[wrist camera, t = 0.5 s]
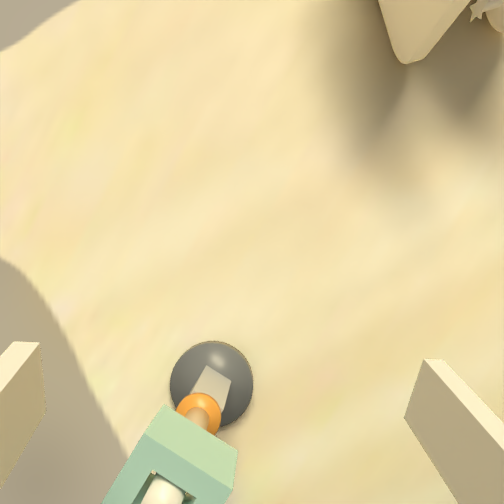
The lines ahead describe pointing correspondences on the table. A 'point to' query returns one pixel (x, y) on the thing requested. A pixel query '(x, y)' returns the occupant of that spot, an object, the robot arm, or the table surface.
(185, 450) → the sleeve
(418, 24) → the cable organizer
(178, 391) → the post
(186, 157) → the table surface
